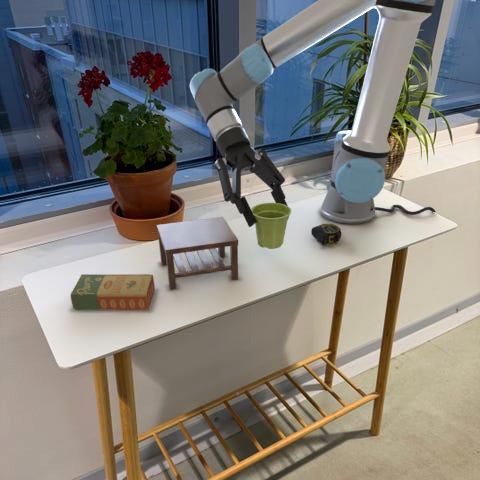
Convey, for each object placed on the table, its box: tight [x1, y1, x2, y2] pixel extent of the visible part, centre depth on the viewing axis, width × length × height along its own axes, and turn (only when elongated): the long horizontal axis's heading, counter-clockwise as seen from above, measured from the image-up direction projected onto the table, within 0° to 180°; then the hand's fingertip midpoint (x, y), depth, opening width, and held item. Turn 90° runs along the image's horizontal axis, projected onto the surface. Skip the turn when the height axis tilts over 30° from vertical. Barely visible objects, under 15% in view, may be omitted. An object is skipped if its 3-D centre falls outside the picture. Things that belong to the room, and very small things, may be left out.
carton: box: [70, 273, 156, 311], centre depth 104 cm, size 8×16×4 cm, turn 89°
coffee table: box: [156, 216, 239, 291], centre depth 112 cm, size 16×13×10 cm
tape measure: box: [310, 223, 342, 246], centre depth 126 cm, size 7×7×4 cm
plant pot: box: [251, 202, 292, 250], centre depth 115 cm, size 9×9×9 cm
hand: (269, 218), depth 114 cm, fingers closed on plant pot, 9 cm apart
